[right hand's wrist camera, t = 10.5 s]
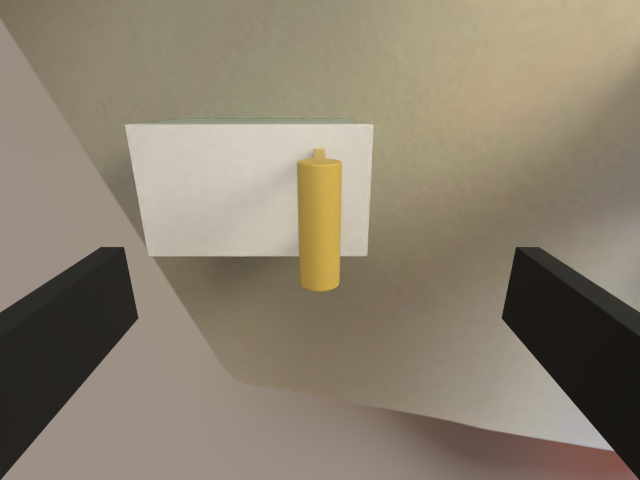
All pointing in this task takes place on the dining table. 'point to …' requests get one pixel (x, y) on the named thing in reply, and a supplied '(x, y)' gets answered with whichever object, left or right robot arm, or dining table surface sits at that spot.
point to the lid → (256, 192)
